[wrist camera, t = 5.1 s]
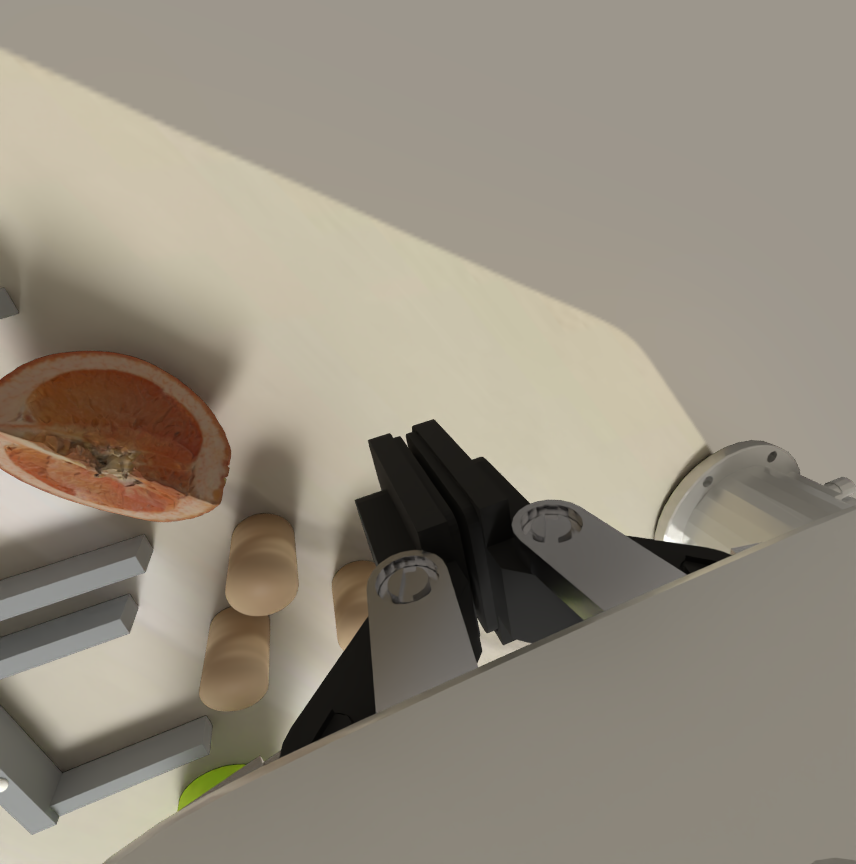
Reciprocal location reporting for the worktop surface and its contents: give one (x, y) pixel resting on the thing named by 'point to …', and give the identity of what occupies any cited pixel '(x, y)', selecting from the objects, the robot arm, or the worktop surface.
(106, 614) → the corral
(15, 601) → the corral
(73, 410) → the fruit slice
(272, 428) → the worktop surface
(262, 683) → the cork
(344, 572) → the cork
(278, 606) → the cork
